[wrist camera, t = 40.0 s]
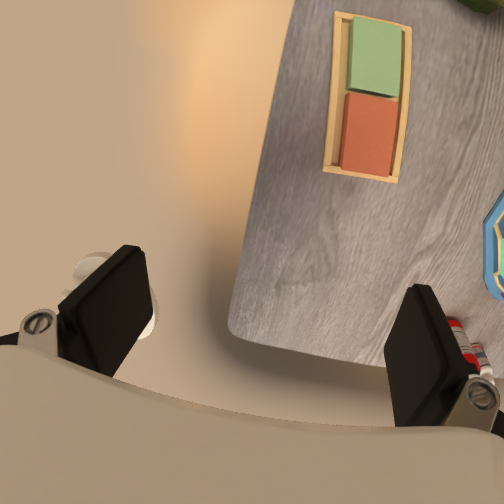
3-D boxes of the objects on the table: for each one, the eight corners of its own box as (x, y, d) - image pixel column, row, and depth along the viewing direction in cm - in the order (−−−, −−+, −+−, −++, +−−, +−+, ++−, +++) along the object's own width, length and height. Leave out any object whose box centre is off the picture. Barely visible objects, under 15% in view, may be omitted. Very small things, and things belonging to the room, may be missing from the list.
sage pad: (348, 25, 24) (353, 15, 21) (392, 34, 23) (401, 26, 20) (345, 90, 28) (350, 87, 24) (388, 98, 27) (399, 97, 24)
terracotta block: (344, 94, 28) (349, 92, 25) (388, 102, 27) (398, 102, 24) (338, 163, 32) (341, 170, 28) (380, 170, 31) (388, 177, 28)
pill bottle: (464, 366, 42) (477, 402, 34) (453, 357, 42) (466, 394, 34) (485, 349, 40) (501, 384, 32) (475, 338, 39) (492, 375, 31)
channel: (392, 179, 32) (397, 183, 30) (322, 168, 33) (323, 171, 31) (406, 31, 23) (411, 27, 21) (333, 16, 24) (334, 10, 22)
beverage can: (420, 331, 40) (438, 390, 30) (452, 309, 38) (478, 365, 27) (434, 350, 42) (452, 406, 31) (464, 330, 39) (488, 383, 28)
